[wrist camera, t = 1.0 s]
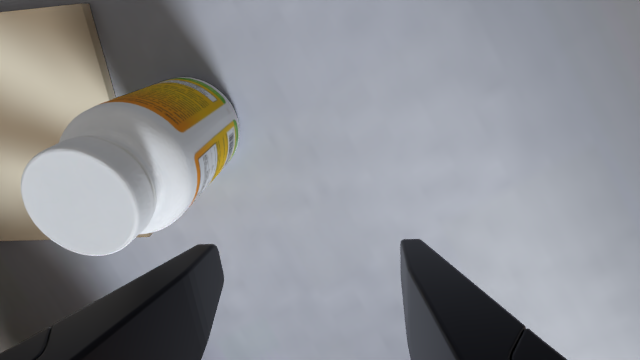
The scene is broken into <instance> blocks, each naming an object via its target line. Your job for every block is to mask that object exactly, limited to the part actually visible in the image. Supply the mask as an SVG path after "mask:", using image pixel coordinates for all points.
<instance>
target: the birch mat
mask: <svg viewBox="0 0 640 360" xmlns="http://www.w3.org/2000/svg"><path fill="white" fill-rule="evenodd" d="M114 98H116V97H115V93H114V90H113V86H112V83H111V79H110V76H109V72H108V69H107V65H106V62H105V58H104V55H103V51H102V48H101V44H100V41H99V37H98V34H97V30H96V27H95V23H94V20H93V16H92V13H91V9H90V6H89V4H82V3H81V4H72V5H63V6H53V7H44V8H35V9H26V10H17V11H7V12H0V241H23V240H51V239H50V238H48V237H47V236H46V235H45V234H44V233H43V232H42V231H41V230H40V229H39V228H38V227H37V226H36V225H35V223H34V222H33V221H32V219H31V218H30V216H29V214H28V212H27V210H26V208H25V205H24V202H23V199H22V195H21V178H22V174H23V171H24V169H25V167H26V165H27V164H28V163H29V161H30V160H31V159H32V158H33V157H34V156H35V155H37V154H38V153H40V152H42V151H43V150H45V149H47V148H49V147H51V146H54V145H56V144H57V143H59V140H60V138H61V136H62V134H63V132H64V130H65V129H66V127H67V126H68V124H69V123H70V122H71V121H72V120H73V119H74V118H75V117H77V116H78V115H79V114H81V113H82V112H84V111H86V110H88V109H90V108H92V107H94V106H96V105H99V104H101V103H104V102H107V101H109V100H112V99H114ZM152 233H153V232H152ZM152 233H147V234H139V235H138V236H137V237H150V236H151V235H152Z"/></svg>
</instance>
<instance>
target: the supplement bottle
mask: <svg viewBox="0 0 640 360" xmlns="http://www.w3.org/2000/svg"><path fill="white" fill-rule="evenodd" d="M239 136H240V128H239V121H238V118H237V115H236V112H235V110H234V108H233V106H232V105H231V103H230V102H229V100H228V99H227V98H226V97H225V96H224V95H223V94H222V93H221V92H220V91H219V90H218V89H216V88H215V87H214V86H212V85H210V84H209V83H207V82H205V81H202V80H199V79H196V78H190V77H178V78H172V79H169V80H165V81H162V82H159V83H156V84H154V85H151V86H149V87H146V88H143V89H140V90H138V91H135V92H132V93H129V94H126V95H123V96H120V97H117V98H114V99H112V100H109V101H107V102H104V103H101V104H99V105H96V106H94V107H92V108H90V109H88V110H86V111H84V112H82V113H81V114H79V115H78V116H77V117H75V118H74V119H73V120H72V121H71V122H70V123H69V124H68V126H67V127H66V129H65V130H64V132H63V134H62V136H61V138H60V140H59V143H57V144H56V145H54V146H51V147H49V148H47V149H45V150H43V151H42V152H40V153H38V154H37V155H35V156H34V157H33V158H32V159H31V160H30V161H29V163H28V164H27V165H26V167H25V169H24V171H23V174H22V178H21V195H22V199H23V202H24V205H25V208H26V210H27V212H28V214H29V216H30V218H31V219H32V221H33V222H34V223H35V225H36V226H37V227H38V228H39V229H40V230H41V231H42V232H43V233H44V234H45V235H46V236H47V237H48V238H50V239H51V240H52V241H54V242H55V243H57V244H58V245H60V246H62V247H64V248H66V249H68V250H70V251H73V252H76V253H79V254H83V255H90V256H103V255H108V254H112V253H115V252H117V251H119V250H121V249H123V248H124V247H125V246H127V245H128V244H129V243H130V242H131V241H132V240H133V239H134V238H136V237H137V236H138V235H139V234H147V233H152V232H156V231H159V230H161V229H163V228H165V227H167V226H169V225H170V224H172V223H173V222H175V221H176V220H177V219H178V218H179V217H180V216H181V215H182V214H183V213H184V212H185V211H186V210H187V209H188V208H189V207H190V206H191V204H192V203H193V202H194V201H195V200H196V199H197V197H198V196H199V195H200V194H201V193H202V192H203V191H204V190H205V188H206V187H207V186H208V185H209V184H210V183H211V182H212V181H213V179H214V178H215V177H216V176H217V175H218V174H219V173H220V171H221V170H222V169H223V168H224V167H225V166H226V164H227V163H228V162H229V161H230V159H231V158H232V156H233V155H234V153H235V151H236V149H237V146H238V143H239Z"/></svg>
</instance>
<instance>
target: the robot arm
mask: <svg viewBox="0 0 640 360" xmlns="http://www.w3.org/2000/svg"><path fill="white" fill-rule="evenodd" d="M400 254H401V284H402V294H403V304H404V314H405V324H406V334H407V342H408V348H409V353H410V358H411V360H567V359H566V358H564V357H563V356H562V355H561V354H559V353H558V352H557V351H556V350H554V349H553V348H552V347H551V346H549V345H548V344H547V343H545V342H544V341H543V340H542V339H541V338H539V337H538V336H537V335H536V334H534V333H533V332H532V331H531V330H530V329H526V327H525V325H523V324H522V323H521V322H520V321H519V320H517V319H516V318H515V317H514V316H512V315H511V314H510V313H509V312H508V311H506V310H505V309H504V308H503V307H502V306H500V305H499V304H498V303H497V302H496V301H494V300H493V299H492V298H491V297H490V296H488V295H487V294H486V293H485V292H483V291H482V290H481V289H480V288H479V287H477V286H476V285H475V284H474V283H473V282H471V281H470V280H469V279H468V278H467V277H465V276H464V275H463V274H462V273H461V272H459V271H458V270H457V269H456V268H454V267H453V266H452V265H451V264H450V263H448V262H447V261H446V260H445V259H444V258H442V257H441V256H440V255H439V254H438V253H436V252H435V251H434V250H433V249H432V248H430V247H429V246H428V245H427V244H425V243H424V242H423V241H422V240H420V239H404V240H402V241H401V244H400ZM223 283H224V274H223V269H222V265H221V260H220V256H219V251H218V248H217V246H215V245H214V244H199V245H196V246H194V247H192V248H191V249H189V250H187V251H185V252H183V253H182V254H180V255H178V256H176V257H174V258H173V259H171V260H169V261H167V262H165V263H164V264H162V265H160V266H158V267H156V268H155V269H153V270H151V271H149V272H147V273H146V274H144V275H142V276H140V277H138V278H137V279H135V280H133V281H131V282H129V283H128V284H126V285H124V286H122V287H120V288H119V289H117V290H115V291H113V292H111V293H110V294H108V295H106V296H104V297H102V298H101V299H99V300H97V301H95V302H93V303H92V304H90V305H88V306H86V307H84V308H82V309H81V310H79V311H77V312H75V313H73V314H72V315H70V316H68V317H66V318H64V319H63V320H61V321H59V322H57V323H55V324H54V325H53V326H52V328H51V327H48V328H46V329H44V330H43V331H41V332H39V333H37V334H35V335H34V336H32V337H30V338H28V339H26V340H24V341H23V342H21V343H19V344H17V345H15V346H13V347H11V348H10V349H8V350H6V351H4V352H2V353H0V360H201V358H202V356H203V353H204V350H205V348H206V345H207V342H208V339H209V335H210V332H211V328H212V324H213V321H214V317H215V313H216V310H217V306H218V302H219V299H220V295H221V291H222V288H223Z"/></svg>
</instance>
